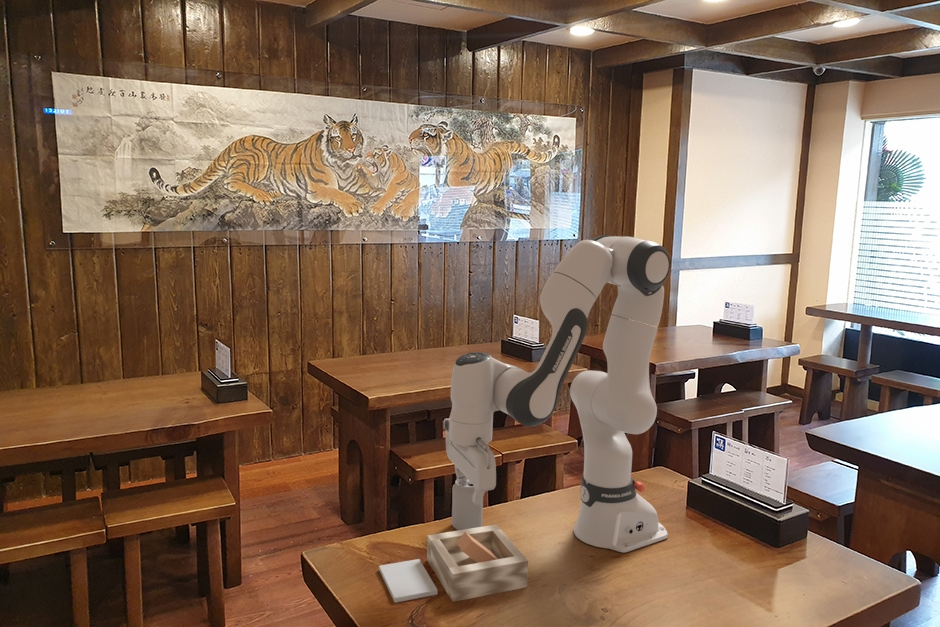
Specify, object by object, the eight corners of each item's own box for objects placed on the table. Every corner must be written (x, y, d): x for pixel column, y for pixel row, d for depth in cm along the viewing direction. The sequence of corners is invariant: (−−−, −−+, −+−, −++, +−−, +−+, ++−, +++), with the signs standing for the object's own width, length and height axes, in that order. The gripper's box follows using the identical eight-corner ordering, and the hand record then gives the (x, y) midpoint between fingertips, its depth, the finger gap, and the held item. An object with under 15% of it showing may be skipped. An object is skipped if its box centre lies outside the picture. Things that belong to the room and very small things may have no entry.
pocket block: (495, 548, 164) (496, 524, 163) (527, 587, 148) (528, 560, 147) (427, 560, 158) (427, 535, 157) (452, 601, 142) (453, 574, 141)
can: (479, 536, 170) (480, 488, 168) (448, 532, 171) (449, 485, 169) (484, 522, 177) (486, 476, 175) (455, 518, 178) (456, 473, 176)
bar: (487, 566, 156) (495, 555, 157) (494, 575, 153) (503, 564, 153) (456, 542, 153) (465, 531, 153) (462, 551, 149) (471, 540, 149)
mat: (419, 563, 157) (419, 558, 157) (437, 594, 145) (437, 589, 145) (379, 570, 154) (379, 565, 154) (394, 602, 142) (394, 598, 142)
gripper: (505, 446, 139) (502, 512, 141) (468, 414, 157) (466, 474, 160) (475, 449, 136) (473, 517, 139) (441, 417, 155) (439, 477, 157)
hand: (469, 493), depth 149 cm, fingers open, 8 cm apart
